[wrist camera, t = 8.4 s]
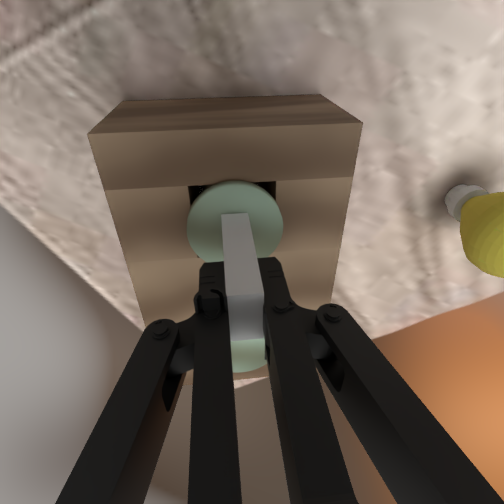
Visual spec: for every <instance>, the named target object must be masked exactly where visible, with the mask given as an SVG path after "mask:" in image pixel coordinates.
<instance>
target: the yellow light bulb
mask: <svg viewBox="0 0 504 504" xmlns="http://www.w3.org/2000/svg"><path fill="white" fill-rule="evenodd" d="M445 204H446V205H447V206H448V212H449V214H450V215H451V216H452V217H453V218H455V219H456V220H457V221H459V222H460V234H461V239H462V244H463V249H464V252H465V254H466V257H467V258H468V260H469V261H470V262H471V263H473V264H474V265H475V266H476V267H478V268H479V269H480V270H482V271H483V272H485V273H487V274H490V275H493V276H497V277H501V278H504V192H498V193H492V194H489V193H488V192H487V191H486V190H484V189H483V188H481V187H479V186H476V185H470V186H468V185H465V184H461V185H457V186H455V187H454V188H452V189H451V190H450V191H449V192H448V193H447V195H446V197H445Z"/></svg>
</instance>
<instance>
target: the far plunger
mask: <svg viewBox="0 0 504 504" xmlns="http://www.w3.org/2000/svg"><path fill="white" fill-rule="evenodd" d="M231 353H232V367H233V372H236V373H239V372H248V371H252V370H255V369H258V368H260V367H262V366H264V365H265V364H267V360H265V339H264V338H262V339H251V340H241V341H231Z"/></svg>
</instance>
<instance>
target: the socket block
mask: <svg viewBox="0 0 504 504" xmlns="http://www.w3.org/2000/svg"><path fill="white" fill-rule="evenodd" d="M362 125H363V122H361V121H360V120H358V119H357V118H355V117H354V116H352V115H351V114H349V113H348V112H346V111H345V110H343V109H342V108H340V107H339V106H337V105H336V104H334V103H333V102H331V101H330V100H328V99H327V98H325V97H324V96H322V95H321V94H317V95H287V96H258V97H228V98H198V99H169V100H139V101H122V102H121V103H120V104H119V105H118V106H117V107H116V108H115V109H113V110H112V111H111V112H110V113H109V114H108V115H107V116H106V117H105V118H104V119H103V120H102V121H101V122H99V123H98V124H97V125H96V126H95V127H94V128H93V129H92V130H91V131H90V132H89V133H88V134H87V135H88V139H89V142H90V145H91V149H92V152H93V155H94V159H95V162H96V165H97V168H98V172H99V175H100V178H101V182H102V185H103V188H104V191H105V195H106V198H107V201H108V205H109V208H110V211H111V214H112V218H113V221H114V224H115V228H116V231H117V234H118V237H119V241H120V244H121V247H122V251H123V254H124V257H125V260H126V264H127V267H128V270H129V274H130V277H131V280H132V284H133V287H134V290H135V293H136V297H137V300H138V303H139V307H140V310H141V313H142V316H143V320H144V323H145V326H146V327H147V326H148V325H149V324H150V323H152V322H153V321H156V320H159V319H170V320H173V321H174V322H175V323H178V322H181V321H184V320H186V319H188V318H190V317H191V316H192V315H193V314H194V313H195V307H194V301H193V299H194V296H195V294H196V293H197V292H198V291H199V269H200V268H201V266H202V265H203V263H206V262H205V261H204V260H203V259H201V258H200V257H199V256H198V255H197V254H196V253H195V252H194V250H193V249H192V247H191V246H190V243H189V241H188V237H187V219H188V213H189V210H190V208H191V205H192V204H193V202H194V200H195V199H196V198H197V197H198V196H199V195H200V194H199V186H198V185H212V184H218V183H221V182H225V181H232V180H235V181H246V182H259V186H260V187H261V188H263V189H265V190H266V191H267V192H268V193H269V194H270V195H271V196H272V197H273V198H274V200H275V201H276V203H277V205H278V207H279V210H280V213H281V216H282V219H283V234H282V237H281V240H280V242H279V244H278V246H277V248H276V249H275V250H274V252H273V253H272V254H271V255H270V256H269V257H276V258H277V259H278V260H279V261H280V262H281V265H282V269H283V272H284V276H285V279H286V282H287V286H288V289H289V292H290V296H291V298H292V300H293V301H295V303H296V304H297V305H298V306H300V307H303V308H306V309H311V310H317V309H318V308H319V307H320V306H322V305H324V304H329V303H330V301H331V296H332V290H333V285H334V279H335V274H336V268H337V263H338V257H339V252H340V246H341V241H342V235H343V230H344V224H345V219H346V213H347V208H348V202H349V197H350V191H351V186H352V180H353V175H354V169H355V164H356V158H357V153H358V147H359V142H360V136H361V131H362ZM315 367H316V366H315ZM316 370H317V368H316ZM317 371H318V370H317ZM259 377H269V372H268V366H267V364H265V365H264V366H262V367H260V368H258V369H255V370H252V371H248V372H239V373H236V372H233V380H240V379H249V378H259ZM191 384H193V369H192V370H189V371H187V373H186V377H185V380H184V383H183V385H191Z"/></svg>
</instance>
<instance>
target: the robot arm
mask: <svg viewBox="0 0 504 504" xmlns="http://www.w3.org/2000/svg"><path fill="white" fill-rule="evenodd" d="M221 221H222V237H223V254H224V261H219V262H206V263H203V265H202V266H201V268H200V269H199V291H198V292H197V293H196V294H195V296H194V299H193V301H194V307H195V313H194V314H193V315H192V316H191V317H190V318H188V319H186V320H184V321H181V322H178V323H175V322H174V321H173V320H170V319H159V320H156V321H153V322H152V323H150V324H149V325H148V326H147V327H146V329H145V330H144V332H143V334H142V336H141V338H140V340H139V342H138V343H137V345H136V347H135V349H134V351H133V353H132V355H131V357H130V359H129V361H128V363H127V365H126V367H125V369H124V371H123V373H122V375H121V377H120V378H119V381H118V382H117V384H116V386H115V388H114V390H113V392H112V394H111V396H110V398H109V400H108V402H107V404H106V406H105V408H104V410H103V412H102V414H101V416H100V418H99V419H98V421H97V423H96V425H95V427H94V429H93V431H92V433H91V435H90V437H89V439H88V441H87V443H86V445H85V447H84V449H83V450H82V452H81V455H80V456H79V458H78V460H77V462H76V464H75V466H74V468H73V470H72V472H71V474H70V476H69V478H68V480H67V482H66V484H65V486H64V488H63V489H62V491H61V493H60V495H59V497H58V499H57V501H56V503H55V504H143V503H144V500H145V497H146V494H147V491H148V488H149V485H150V482H151V479H152V476H153V473H154V470H155V467H156V464H157V461H158V458H159V455H160V452H161V449H162V446H163V443H164V440H165V437H166V434H167V431H168V428H169V425H170V422H171V419H172V416H173V413H174V410H175V407H176V404H177V401H178V398H179V395H180V391H181V389H182V386H183V383H184V380H185V377H186V373H187V371H189V370H192V369H193V392H192V414H191V438H190V462H189V463H190V464H189V485H188V504H242V496H241V481H240V467H239V453H238V438H237V425H236V410H235V397H234V382H233V367H232V353H231V341H241V340H251V339H262V338H264V339H265V360H267V366H268V372H269V378H270V383H271V390H272V396H273V402H274V408H275V414H276V420H277V425H278V431H279V438H280V443H281V449H282V456H283V462H284V468H285V473H286V480H287V486H288V492H289V498H290V504H359V503H358V502H357V500H356V497H355V495H354V491H353V488H352V485H351V482H350V479H349V475H348V472H347V468H346V465H345V462H344V459H343V455H342V452H341V449H340V446H339V442H338V439H337V436H336V432H335V429H334V426H333V423H332V419H331V416H330V413H329V409H328V406H327V403H326V399H325V396H324V393H323V390H322V386H321V383H320V380H319V376H318V373H317V370H318V372H319V373H320V375H321V376H322V378H323V380H324V382H325V383H326V385H327V387H328V388H329V390H330V392H331V393H332V395H333V396H334V398H335V400H336V402H337V403H338V405H339V407H340V408H341V410H342V412H343V413H344V415H345V417H346V418H347V420H348V422H349V423H350V425H351V426H352V428H353V430H354V432H355V433H356V435H357V437H358V438H359V440H360V442H361V443H362V445H363V447H364V448H365V450H366V452H367V454H368V455H369V457H370V458H371V460H372V462H373V463H374V465H375V467H376V469H377V470H378V472H379V473H380V475H381V477H382V478H383V480H384V482H385V484H386V485H387V487H388V489H389V490H390V492H391V494H392V495H393V497H394V499H395V500H396V502H397V504H504V501H503V500H502V499H501V497H500V496H499V495H498V494H497V493H496V491H495V490H494V489H493V488H492V487H491V486H490V484H489V483H488V482H487V481H486V479H485V478H484V477H483V476H482V474H481V473H480V472H479V471H478V469H477V468H476V467H475V466H474V465H473V463H472V462H471V461H470V460H469V459H468V457H467V456H466V455H465V454H464V452H463V451H462V450H461V449H460V448H459V446H458V445H457V444H456V443H455V442H454V440H453V439H452V438H451V437H450V435H449V434H448V433H447V432H446V431H445V429H444V428H443V427H442V426H441V424H440V423H439V422H438V421H437V420H436V418H435V417H434V416H433V415H432V414H431V412H430V411H429V410H428V409H427V407H426V406H425V405H424V404H423V403H422V401H421V400H420V399H419V398H418V397H417V395H416V394H415V393H414V392H413V390H412V389H411V388H410V387H409V386H408V384H407V383H406V382H405V381H404V379H403V378H402V377H401V376H400V375H399V373H398V372H397V371H396V370H395V369H394V367H393V366H392V365H391V364H390V363H389V361H388V360H387V359H386V358H385V356H384V355H383V354H382V353H381V352H380V350H379V349H378V348H377V347H376V345H375V344H374V343H373V342H372V341H371V339H370V338H369V337H368V336H367V334H366V333H365V332H364V331H363V330H362V328H361V327H360V326H359V325H358V324H357V322H356V321H355V320H354V319H353V317H352V316H351V315H350V314H349V313H348V311H347V310H346V309H344V308H343V307H342V306H339V305H337V304H332V303H329V304H324V305H322V306H320V307H319V308H318V309H317V310H311V309H306V308H303V307H300V306H298V305H297V304H296V303H295V301H293V300H292V298H291V296H290V292H289V289H288V286H287V282H286V279H285V276H284V272H283V269H282V265H281V262H280V261H279V260H278V259H277V258H276V257H264V258H257V255H256V250H255V245H254V240H253V235H252V230H251V225H250V220H249V216H248V213H236V214H221ZM315 366H316V367H315ZM316 368H317V370H316Z"/></svg>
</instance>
